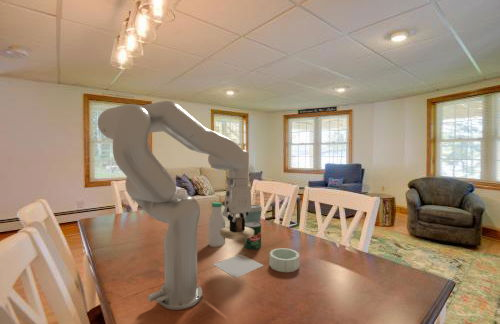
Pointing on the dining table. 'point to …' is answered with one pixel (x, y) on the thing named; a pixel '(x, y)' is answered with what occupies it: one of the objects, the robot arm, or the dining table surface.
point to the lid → (237, 231)
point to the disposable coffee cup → (254, 214)
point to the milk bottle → (216, 225)
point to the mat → (238, 265)
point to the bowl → (284, 260)
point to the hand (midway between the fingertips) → (237, 230)
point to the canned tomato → (254, 241)
